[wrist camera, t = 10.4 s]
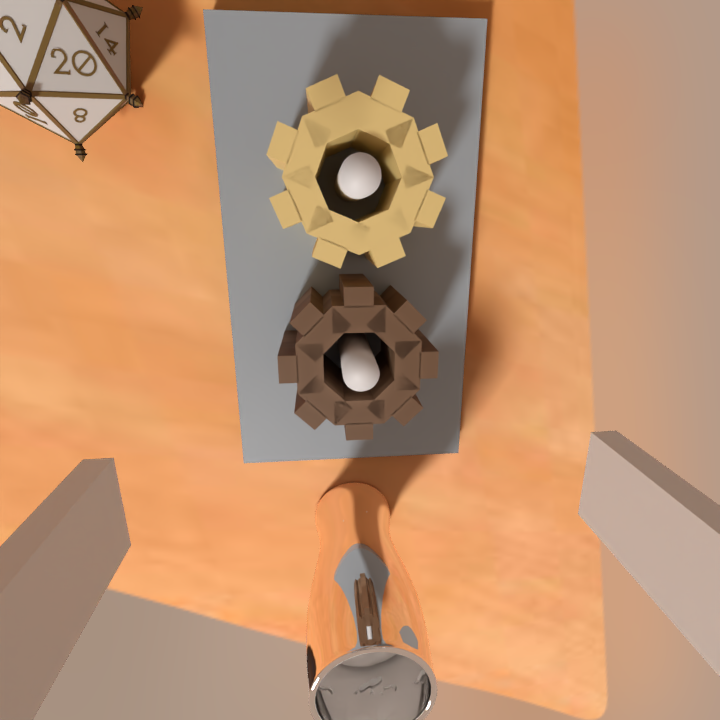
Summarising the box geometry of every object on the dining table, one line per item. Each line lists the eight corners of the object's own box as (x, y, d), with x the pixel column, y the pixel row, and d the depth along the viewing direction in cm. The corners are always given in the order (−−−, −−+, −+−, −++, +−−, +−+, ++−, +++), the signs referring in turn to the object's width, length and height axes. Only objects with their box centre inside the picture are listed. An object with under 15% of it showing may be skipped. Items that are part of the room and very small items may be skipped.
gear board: (209, 20, 26) (161, -67, 18) (478, 29, 28) (544, -49, 20) (246, 453, 35) (225, 524, 27) (452, 443, 36) (491, 508, 28)
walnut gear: (281, 274, 30) (273, 288, 24) (418, 272, 30) (441, 285, 25) (288, 403, 32) (282, 443, 27) (414, 398, 33) (434, 436, 27)
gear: (251, 141, 27) (233, 120, 21) (391, 78, 27) (410, 40, 21) (314, 281, 30) (313, 296, 24) (441, 225, 30) (471, 227, 24)
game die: (133, 66, 30) (173, -57, 22) (134, 192, 29) (175, 115, 21) (-49, 1, 25) (-85, -192, 17) (-53, 154, 24) (-90, 32, 16)
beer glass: (408, 526, 38) (462, 711, 24) (334, 562, 38) (344, 765, 24) (371, 462, 36) (406, 622, 22) (293, 501, 36) (278, 683, 22)
